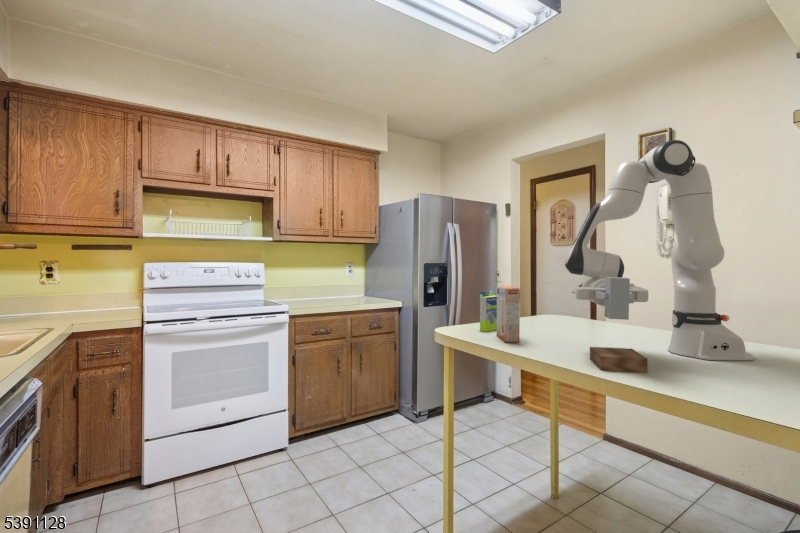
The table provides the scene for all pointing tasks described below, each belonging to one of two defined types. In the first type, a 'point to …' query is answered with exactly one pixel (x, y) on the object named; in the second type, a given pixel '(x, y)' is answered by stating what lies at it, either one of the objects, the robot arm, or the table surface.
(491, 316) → the box
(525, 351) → the table surface
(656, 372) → the table surface
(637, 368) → the walnut block
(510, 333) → the cracker box
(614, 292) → the grey block
